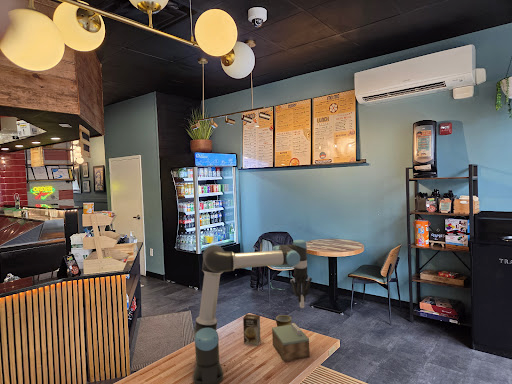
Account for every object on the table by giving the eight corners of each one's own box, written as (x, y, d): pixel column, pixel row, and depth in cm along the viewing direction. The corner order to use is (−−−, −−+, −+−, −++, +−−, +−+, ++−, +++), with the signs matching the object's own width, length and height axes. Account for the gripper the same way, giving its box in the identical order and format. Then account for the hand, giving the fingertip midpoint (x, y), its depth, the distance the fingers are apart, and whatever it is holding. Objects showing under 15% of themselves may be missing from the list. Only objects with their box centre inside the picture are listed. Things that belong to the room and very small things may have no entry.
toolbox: (284, 362, 178) (283, 345, 177) (272, 344, 197) (272, 329, 197) (309, 357, 182) (309, 341, 181) (296, 340, 201) (295, 326, 201)
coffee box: (243, 344, 199) (242, 318, 198) (247, 339, 205) (246, 313, 204) (258, 345, 196) (257, 319, 196) (261, 340, 202) (260, 314, 202)
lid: (283, 345, 177) (283, 337, 177) (272, 329, 197) (271, 322, 197) (309, 340, 181) (308, 333, 181) (295, 325, 201) (295, 318, 200)
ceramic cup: (294, 335, 208) (294, 319, 207) (280, 338, 204) (279, 322, 204) (285, 326, 220) (284, 312, 219) (271, 329, 216) (271, 314, 216)
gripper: (308, 264, 195) (309, 303, 196) (287, 266, 191) (288, 306, 192) (313, 267, 188) (315, 307, 189) (292, 269, 184) (293, 311, 185)
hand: (301, 307), depth 190 cm, fingers closed
